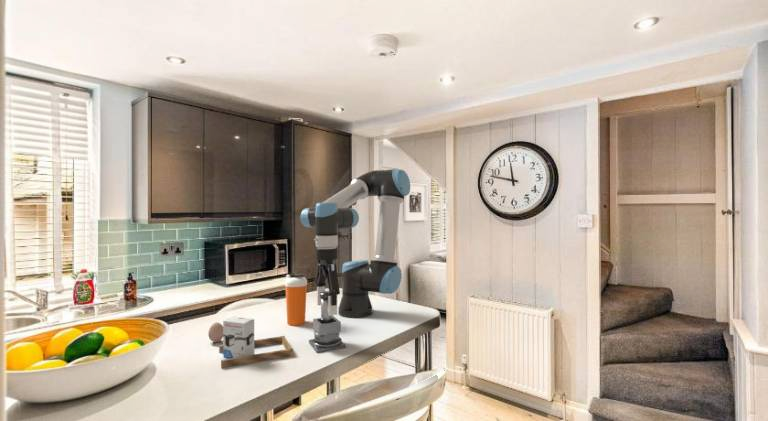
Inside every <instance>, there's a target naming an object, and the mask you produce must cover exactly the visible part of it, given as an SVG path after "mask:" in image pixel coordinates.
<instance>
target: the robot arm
mask: <svg viewBox="0 0 768 421" xmlns="http://www.w3.org/2000/svg"><path fill="white" fill-rule="evenodd" d="M410 192H411V180H410V176H409V175H408V174H407V172H406V171H405V170H403V169H397V168H393V169H380V170H379V169H378V170H377V169H376V170H371V171H369V172H365V173H364V174H362V175H360V176H358V177H356V178H354V179H353V180H352V181H351V182H350V183H349V185H348V186H346V187H345V188H343V189H341V190H340V191H338V192H337V193H335V194H334V195H332V196H331V197H329V198H328V199H326V200H324V201H322V202H317V203H316V205H315V206H314V207H306V208H304V209H302V211H301V213H300V222H301V224H302V226H304V227H306V228H312V229H315V238H313V241H314V242H315V247H316V248H315V250H314V252H315V260H316V261H317V267H316V273H315V280H314V283H315V284H316V294H317V295H316V305H317V306H321V298H320V292H324V291H326V286H327V287H328V291H329V293H328V296H329V316H330V315H333V316H337V315H339V316H341V317H346V318H363V317H364V318H365V317H368V316H370V315H373V305H372V302H371V299H370V295H369V292H371V293H378V294H383V295H384V294H388V295H391V294H393V293H395V292H396V291H397V290H398V289H399V287H400V285H401V282H402V276H403V275H402V274H403V273H402V270H401V268H400V266H398V261H397V260H396V258H395V256H396V247H397V245H396V244H397V238H398V237H397V235H398V228H399V227H398V226H399V218H400V217H399V216H400V207H401V204H402V203H403V202H405V201H404V200H405V197H406V196H408V195H409V194H410ZM368 197H377V199H378V201H379V202H380V205H379V214H378V223H377V233H376V239H375V240H376V242H375V250H374V257H372V258H371V259H370V262H369V260H368V259H358V260H352V261H351V260H350V261H346V262H344V263H343V264H342V269H341V270H342V271H341V276H342V277H341V281H342V282H341V284H342V286H341V290H342V291H341V290H340V284H339V278H338V271H337V264H336V263H333V261H336V260H337V259H338V257H339V252H338V246H339V238H338V237H339V235H338V233H339V232H338V230H342V229H347V230H349V229H352V228H355V227H356V226H357V225H358V224H359V221H360V215H359V213H358V211H357V210H356V209H354V208H352V207H350V206H352V205H353V204H355V203H356V202H358V201H359V200H364V199H366V198H368ZM326 283H327V285H326ZM341 293H342V296H341V300H340V303H339V305H338V295H340V294H341Z"/></svg>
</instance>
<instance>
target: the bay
mask: <svg viewBox="0 0 768 421" xmlns="http://www.w3.org/2000/svg"><path fill="white" fill-rule="evenodd" d="M277 344H282V345H283V347H284V349H280V350H274V351H268V352H262V353H254V354H255V355H249V356H242V357H236V358H225V359H220V368H221V369H223V368H228V367H235V366H240V365H246V364H254V363H257V362H264V361H265V362H266V361H269V360H277V359H280V358H281V359H282V358H287V357H293V356H294V354H293V353H294V349H293V347H292V346H291V344H290V343H289V341H288V339H287V337H286V336H285V335H279V336H275V337H274V336H273V337H268V338H267V337H266V338H260V339H254V348H256V347H263V346H264V347H265V346H270V345H277ZM218 347H219V349H218V350H219V351H218V352H219V353H223V344H220V345H218Z"/></svg>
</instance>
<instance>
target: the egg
mask: <svg viewBox="0 0 768 421" xmlns="http://www.w3.org/2000/svg"><path fill="white" fill-rule="evenodd" d="M207 334H208V338H209V340H210V341H211V342H213V343H218V342H220V341H222V339H223V324H221V323H220V322H219V321H217V322H214V323H212V324H211V326H210V327H209V330H208V333H207Z"/></svg>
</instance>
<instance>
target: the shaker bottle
mask: <svg viewBox="0 0 768 421" xmlns="http://www.w3.org/2000/svg"><path fill="white" fill-rule="evenodd" d="M307 286H308V280H307V278H306V277H305V273H295V272H292V273H289V274H286V276H285V280H284V287H285V303H286V321H287V322H286V323H287V325H289V326H291V327H292V326H293V327H295V326H301V325H305V323H306V313H307V312H306V309H307V308H306V307H307V306H306V305H307V290H308V289H307Z"/></svg>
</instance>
